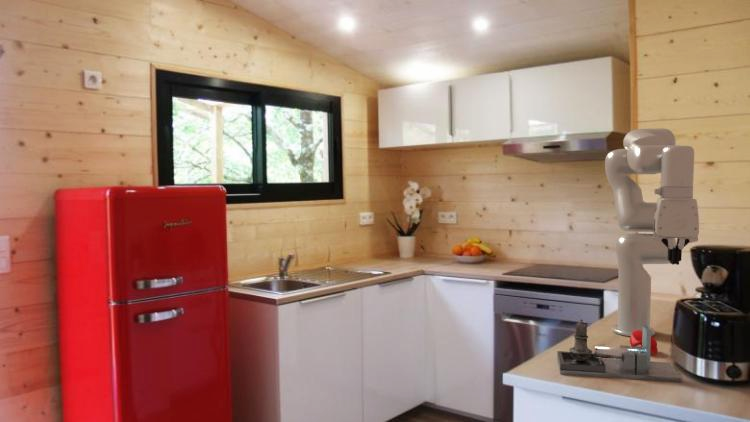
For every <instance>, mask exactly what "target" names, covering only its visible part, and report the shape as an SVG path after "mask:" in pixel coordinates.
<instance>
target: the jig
mask: <svg viewBox="0 0 750 422" xmlns="http://www.w3.org/2000/svg"><path fill="white" fill-rule="evenodd" d="M619 347H621V348H639V349H642V347H641V346H640V345H638V346H631V345H619ZM556 354H557V355H556V360H557V365H558V369H559V374H560V375H571V376H572V375H573V376H586V377H600V378H613V377H615V378H616V379H628V378H629V380H630V379H631V380H645V381H660V382H661V381H662V382H673V383H674V382H675V383H677V382H678V383H682V378H683V377H681V375H680V374H679V372H678V371H677V370H676V369H675V368H674V366H673V365H672V364H671V363H670V362H669V361H668V362H666V361H651V360H650V370H649V369H647V354H646V353H636V352H635V354H634V352H624V359H607V358H595V357H594V352H592V353H591V357H590V359H588V360H587V361H588V362H590V363H591V364H575V363H570V362H571V361H572V360H575V359H573V358H572V356H571V354H570V351H560V350H557V353H556Z"/></svg>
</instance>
